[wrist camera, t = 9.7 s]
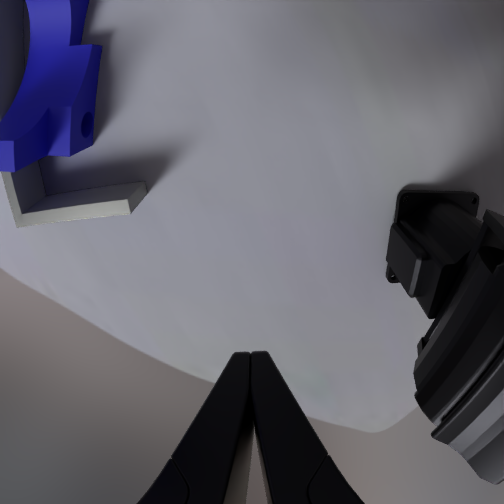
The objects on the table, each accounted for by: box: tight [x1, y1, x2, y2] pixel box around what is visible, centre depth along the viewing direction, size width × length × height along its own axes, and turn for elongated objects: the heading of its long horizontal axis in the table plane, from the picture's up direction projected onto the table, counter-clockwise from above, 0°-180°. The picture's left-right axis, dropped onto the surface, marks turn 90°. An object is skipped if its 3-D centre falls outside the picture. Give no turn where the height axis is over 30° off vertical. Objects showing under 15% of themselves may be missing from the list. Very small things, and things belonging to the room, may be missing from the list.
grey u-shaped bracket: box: [0, 0, 147, 228], centre depth 13 cm, size 8×18×3 cm, turn 3°
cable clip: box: [0, 0, 102, 172], centre depth 11 cm, size 12×4×6 cm, turn 170°
